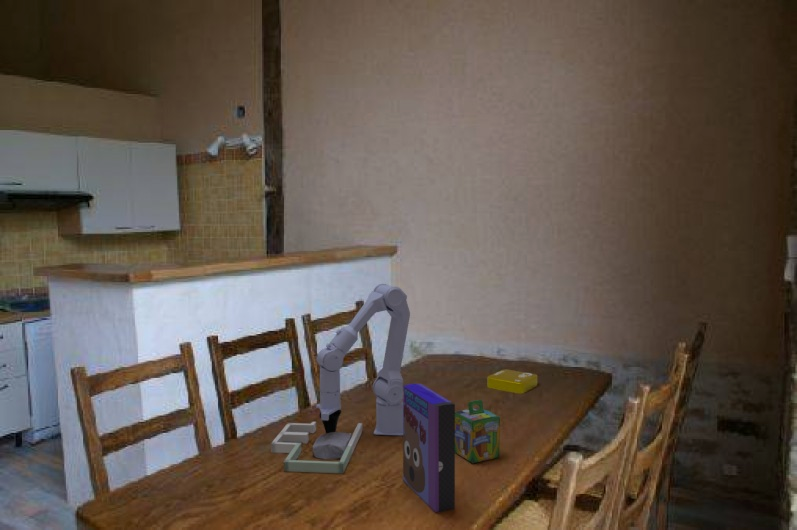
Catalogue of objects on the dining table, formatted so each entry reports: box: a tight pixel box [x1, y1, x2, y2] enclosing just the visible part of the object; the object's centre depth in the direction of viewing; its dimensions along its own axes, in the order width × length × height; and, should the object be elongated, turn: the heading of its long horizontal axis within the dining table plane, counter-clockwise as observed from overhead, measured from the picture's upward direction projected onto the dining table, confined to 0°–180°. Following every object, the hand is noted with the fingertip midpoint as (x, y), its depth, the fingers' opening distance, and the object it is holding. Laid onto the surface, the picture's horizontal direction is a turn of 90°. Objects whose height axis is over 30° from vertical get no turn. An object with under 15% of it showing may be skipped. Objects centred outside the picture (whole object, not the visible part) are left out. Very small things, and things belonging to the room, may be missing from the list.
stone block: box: [312, 431, 353, 460], centre depth 167 cm, size 12×5×10 cm
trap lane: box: [270, 421, 363, 474], centre depth 168 cm, size 22×30×2 cm
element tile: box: [486, 368, 538, 394], centre depth 228 cm, size 15×15×5 cm
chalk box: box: [455, 399, 501, 464], centre depth 163 cm, size 9×9×15 cm
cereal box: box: [402, 383, 456, 514], centre depth 140 cm, size 17×5×24 cm, turn 23°
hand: (330, 436), depth 173 cm, fingers closed
